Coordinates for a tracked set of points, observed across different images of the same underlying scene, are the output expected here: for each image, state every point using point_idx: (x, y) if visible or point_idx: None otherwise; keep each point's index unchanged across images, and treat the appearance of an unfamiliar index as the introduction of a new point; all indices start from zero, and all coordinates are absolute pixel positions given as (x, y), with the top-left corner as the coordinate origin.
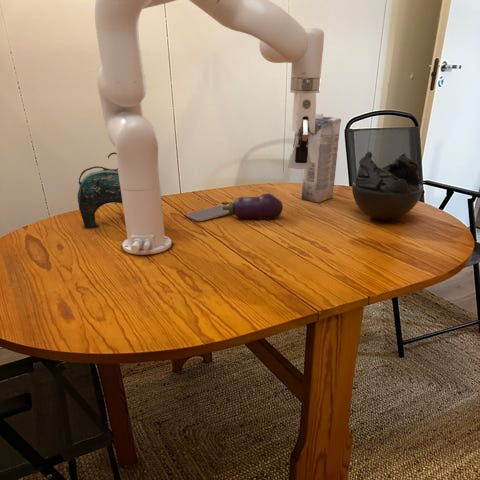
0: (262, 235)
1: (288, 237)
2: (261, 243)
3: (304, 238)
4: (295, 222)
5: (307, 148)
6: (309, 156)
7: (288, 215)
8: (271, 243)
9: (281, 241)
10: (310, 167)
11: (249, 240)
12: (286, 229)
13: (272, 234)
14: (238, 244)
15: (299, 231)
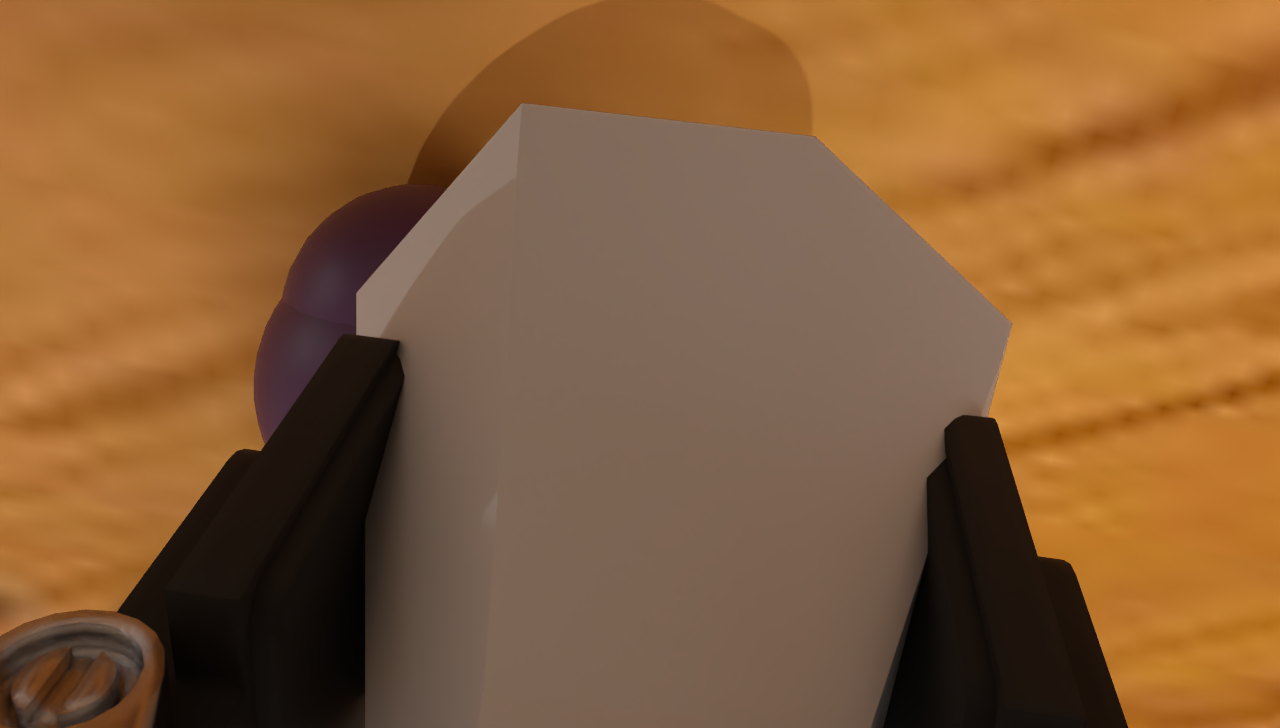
0: (1014, 461)
1: (1163, 232)
2: (1236, 510)
3: (1265, 62)
4: (650, 23)
5: (1067, 706)
6: (780, 357)
7: (356, 45)
8: (1274, 429)
9: (1257, 329)
10: (886, 208)
11: (1115, 586)
12: (890, 192)
13: (1014, 368)
14: (1184, 676)
15: (1001, 59)
